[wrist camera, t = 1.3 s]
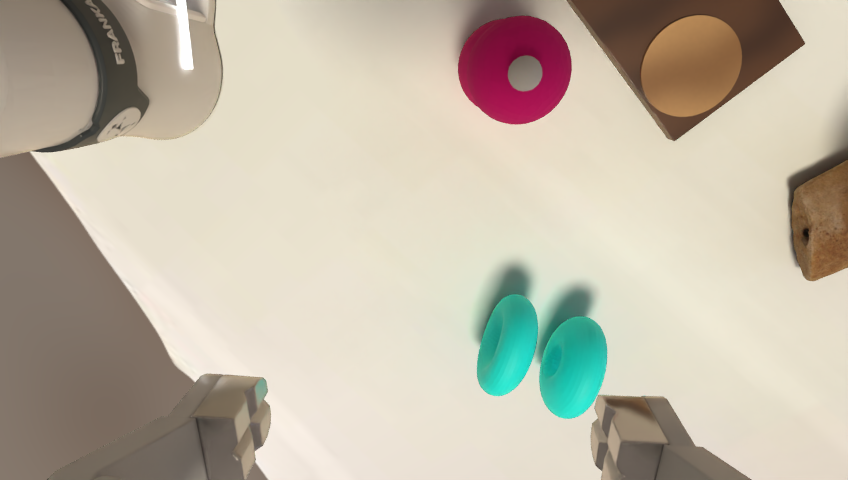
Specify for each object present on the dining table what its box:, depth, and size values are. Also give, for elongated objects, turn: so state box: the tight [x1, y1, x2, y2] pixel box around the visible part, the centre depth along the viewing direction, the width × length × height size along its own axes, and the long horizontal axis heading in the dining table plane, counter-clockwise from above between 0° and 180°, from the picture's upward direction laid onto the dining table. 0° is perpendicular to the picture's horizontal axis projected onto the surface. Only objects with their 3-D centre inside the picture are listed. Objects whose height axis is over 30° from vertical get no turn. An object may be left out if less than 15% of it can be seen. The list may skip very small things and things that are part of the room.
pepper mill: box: [458, 16, 572, 124], centre depth 34 cm, size 7×7×20 cm
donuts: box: [477, 294, 607, 419], centre depth 48 cm, size 10×10×10 cm
